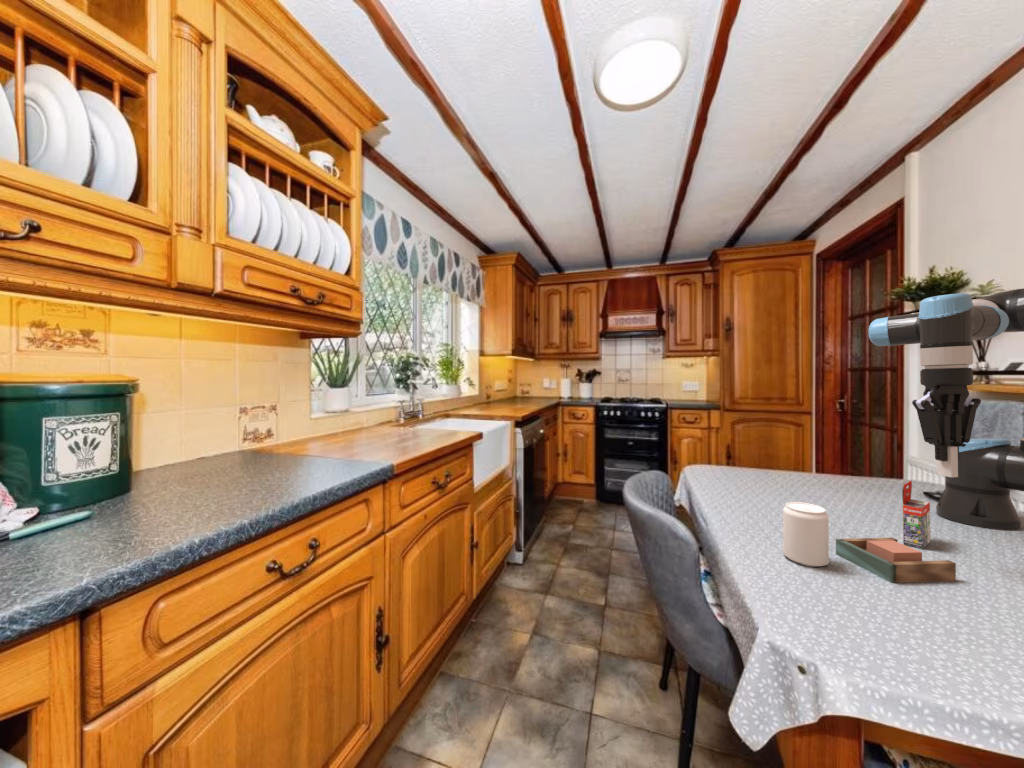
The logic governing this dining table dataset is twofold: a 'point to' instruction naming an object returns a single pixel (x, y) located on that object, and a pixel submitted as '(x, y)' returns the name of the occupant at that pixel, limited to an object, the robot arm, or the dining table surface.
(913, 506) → the ink box
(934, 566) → the bay
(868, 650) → the dining table surface
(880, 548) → the terracotta brick
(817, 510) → the beverage can
